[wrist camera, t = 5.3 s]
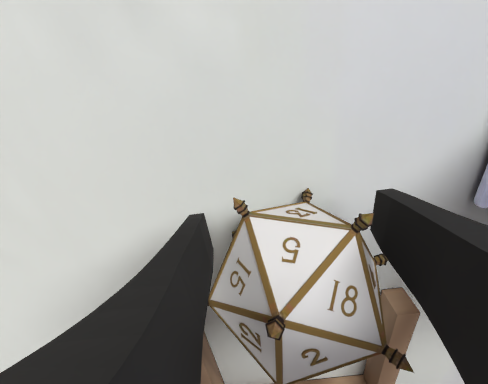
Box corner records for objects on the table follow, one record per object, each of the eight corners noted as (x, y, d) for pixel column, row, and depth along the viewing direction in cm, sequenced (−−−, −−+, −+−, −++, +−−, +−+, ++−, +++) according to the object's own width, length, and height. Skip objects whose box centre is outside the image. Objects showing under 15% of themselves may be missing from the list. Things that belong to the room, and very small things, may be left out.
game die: (298, 184, 18) (477, 258, 11) (252, 287, 19) (390, 418, 12) (198, 140, 11) (476, 251, 4) (136, 300, 12) (283, 607, 5)
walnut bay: (402, 287, 18) (420, 312, 16) (376, 380, 25) (387, 404, 23) (177, 313, 19) (171, 340, 17) (214, 396, 26) (213, 420, 24)
